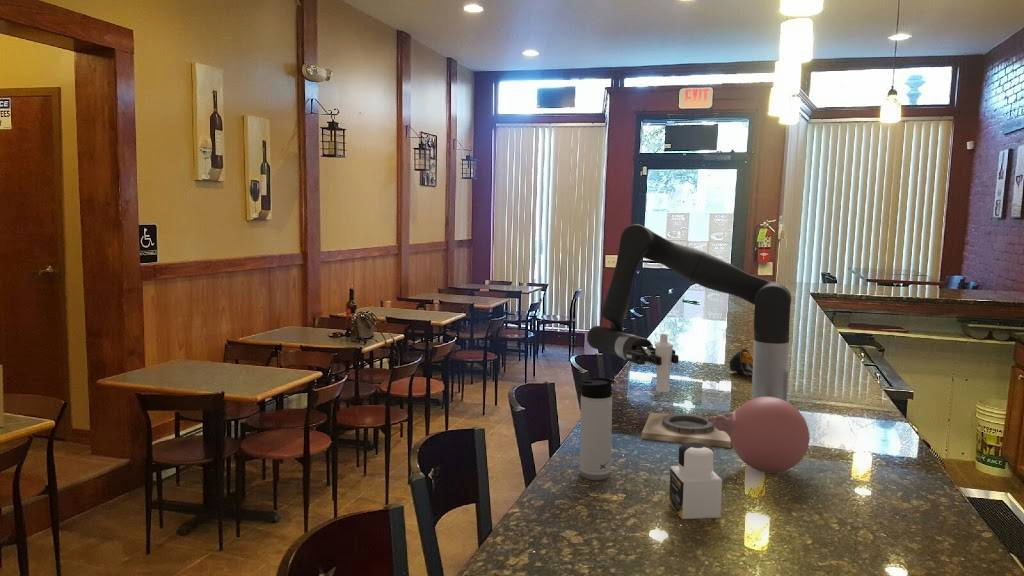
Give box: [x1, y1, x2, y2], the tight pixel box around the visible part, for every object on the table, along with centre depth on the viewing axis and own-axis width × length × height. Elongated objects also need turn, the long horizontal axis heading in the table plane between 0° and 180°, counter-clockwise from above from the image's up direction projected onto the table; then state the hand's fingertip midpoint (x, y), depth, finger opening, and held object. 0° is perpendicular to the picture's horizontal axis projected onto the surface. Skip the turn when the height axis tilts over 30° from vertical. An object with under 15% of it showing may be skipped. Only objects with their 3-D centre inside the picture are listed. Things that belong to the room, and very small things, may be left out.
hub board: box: [641, 412, 732, 449], centre depth 167 cm, size 20×17×3 cm
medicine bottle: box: [668, 442, 723, 520], centre depth 123 cm, size 7×7×12 cm
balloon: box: [707, 397, 810, 474], centre depth 143 cm, size 15×20×15 cm
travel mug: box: [579, 377, 615, 481], centre depth 139 cm, size 6×7×20 cm
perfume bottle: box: [654, 333, 674, 393], centre depth 181 cm, size 5×4×15 cm
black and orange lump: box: [729, 348, 753, 378], centre depth 222 cm, size 9×11×18 cm
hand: (668, 360), depth 179 cm, fingers closed on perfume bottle, 4 cm apart
